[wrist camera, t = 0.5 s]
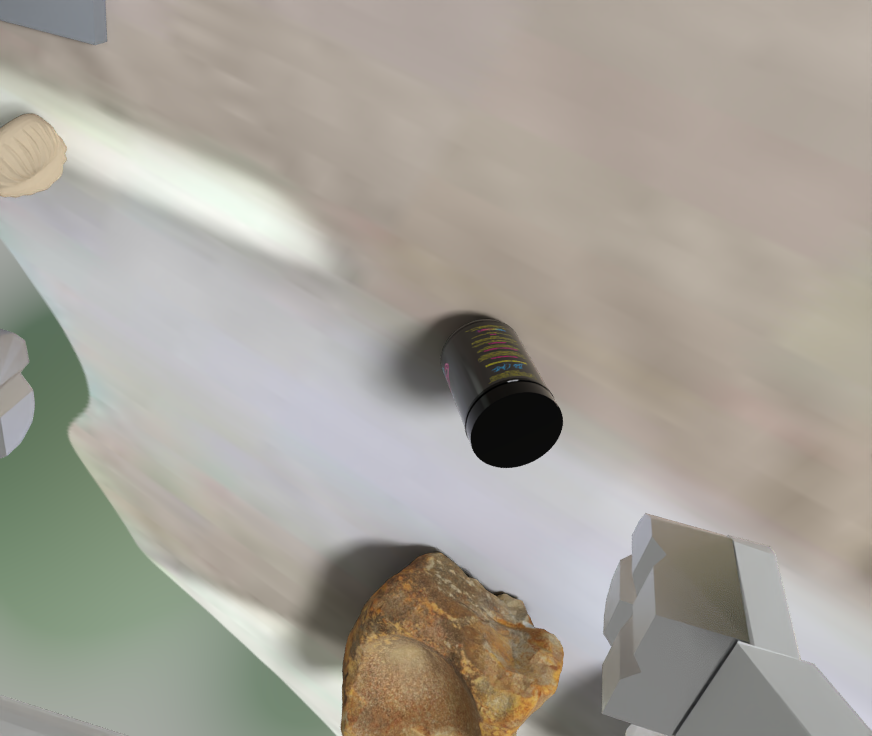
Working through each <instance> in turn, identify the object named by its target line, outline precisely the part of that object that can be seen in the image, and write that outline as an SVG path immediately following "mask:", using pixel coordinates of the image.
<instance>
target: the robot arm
mask: <svg viewBox="0 0 872 736" xmlns="http://www.w3.org/2000/svg"><path fill="white" fill-rule="evenodd" d="M28 363H29V359H28V353H27V347H26V342H25V340H24V339H22V338H21V337H19V336H18V335H17V334H15V333H12V332H9V331H6V330H3V329H0V458H3V457H6V456H7V455H8V454H9V453H11V451H12V450H13V449H15V448H16V447H17V446H18V445H19V444H20V443H21V442H22V440H23V438H24V436H25V435H26V433H27V431H28V429H29V427H30V425H31V423H32V420H33V414H34V408H35V402H34V393H33V389H32V388H31V386H30V385H29V384H28V382H27V381H26V380H25V378H24V377H23V376H22V374H21V373H20V372H21V371H22V370H23V369H24V368H25V367H26V365H27V364H28ZM603 634H604V636H605V637H606V639H607V640H608V642H609V643H610V645H611V646H612V647H611V649H610V651H609V653H608V655H607V657H606V659H605V661H604V663H603V665H602V714H604V715H607V716H610V717H613V718H616V719H619V720H622V721H625V722H628V723H631V724H634V725H637V726H640V727H643V728H646V729H649V730H652V731H655V732H658V733H661V734H664V735H667V736H872V731H871V730H870V728H869V727H868V726H867V725H866V724H865V723H864V721H863V720H862V719H861V718H860V717H859V716H858V714H857V713H856V712H855V711H854V710H853V709H852V707H851V706H850V705H849V704H848V703H847V702H846V700H845V699H844V698H843V697H842V696H841V695H840V693H839V692H838V691H837V690H836V689H835V688H834V686H833V685H832V684H831V683H830V682H829V681H828V679H827V678H826V677H825V676H824V675H823V674H822V672H821V671H820V670H819V669H818V668H817V667H816V665H815V664H813V663H810V662H807V661H804V660H801V657H800V653H799V649H798V645H797V641H796V637H795V633H794V628H793V624H792V620H791V616H790V612H789V608H788V603H787V599H786V595H785V591H784V587H783V583H782V579H781V574H780V570H779V566H778V562H777V558H776V554H775V552H774V551H773V550H772V548H771V547H770V546H767V545H763V544H760V543H756V542H752V541H748V540H744V539H741V538H737V537H733V536H729V535H728V536H725V535H722V534H718V533H715V532H711V531H708V530H704V529H700V528H697V527H693V526H690V525H686V524H682V523H679V522H675V521H672V520H668V519H665V518H661V517H657V516H654V515H650V514H647V513H645V515H644V516H643V517H642V518H641V519H640V521H639V522H638V524H637V526H636V528H635V530H634V532H633V534H632V555H630V556H628V557H626V558H624V559H622V560H620V562H619V564H618V566H617V569H616V571H615V573H614V576H613V578H612V581H611V584H610V588H609V592H608V595H607V599H606V605H605V613H604V629H603ZM0 736H127V735H124V734H121V733H118V732H115V731H112V730H109V729H106V728H103V727H99V726H96V725H93V724H90V723H87V722H84V721H81V720H78V719H74V718H71V717H68V716H65V715H62V714H59V713H55V712H53V711H49V710H46V709H43V708H40V707H37V706H34V705H31V704H28V703H24V702H21V701H18V700H15V699H12V698H9V697H6V696H3V695H0Z"/></svg>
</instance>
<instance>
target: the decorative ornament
mask: <svg viewBox="0 0 872 736" xmlns="http://www.w3.org/2000/svg"><path fill="white" fill-rule="evenodd" d="M66 150H67V147H66V145H65V144H64V142H63V140H62V139H61V138H60V137H59V136H58V135H57V134H56V132H55V130H54V128H53V127H52V126H51V125H50V124H49V123H47V122H46V121H45V120H44V119H43V118H41V117H39V116H38V115H35V114H24V115H21V116H19V117H17V118H15V119H13V120H12V121H10V122H8V123H7V124H5V125H4V126H3V127H2V128H0V196H2V197H15V198H16V197H20V196H23V195H33V194H35V193H36V192H40V191H44V190H47V189H48V188H50V186H51V185H52V184H53V183H54V182H55V181H57V180H58V179H59V178H60V177H61V175H62V172H63V164H64V163H65V162H66V160H67V158H66V156H65V152H66Z"/></svg>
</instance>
